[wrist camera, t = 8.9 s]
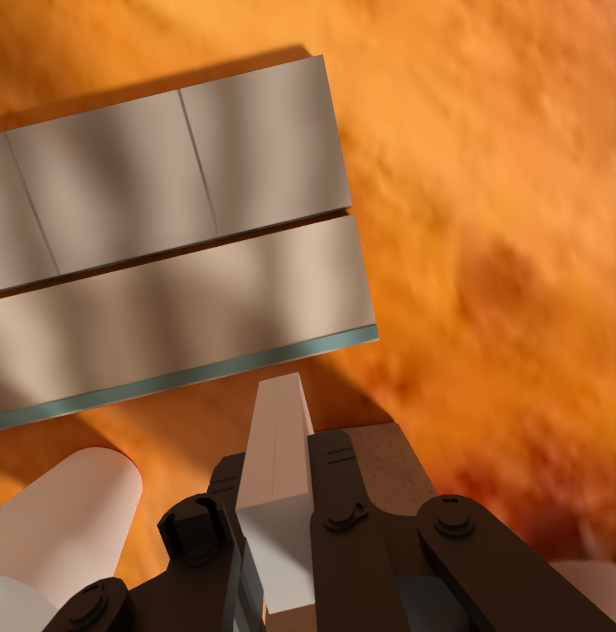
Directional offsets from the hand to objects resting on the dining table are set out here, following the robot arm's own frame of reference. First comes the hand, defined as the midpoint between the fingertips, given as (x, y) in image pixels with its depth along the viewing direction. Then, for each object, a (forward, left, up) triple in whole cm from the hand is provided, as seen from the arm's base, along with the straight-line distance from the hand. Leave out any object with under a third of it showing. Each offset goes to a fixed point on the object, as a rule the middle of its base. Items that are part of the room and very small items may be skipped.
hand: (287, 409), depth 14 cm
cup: (-18, -9, -14) cm, 25 cm away
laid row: (-9, +12, -14) cm, 20 cm away
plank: (-9, +2, -14) cm, 17 cm away
